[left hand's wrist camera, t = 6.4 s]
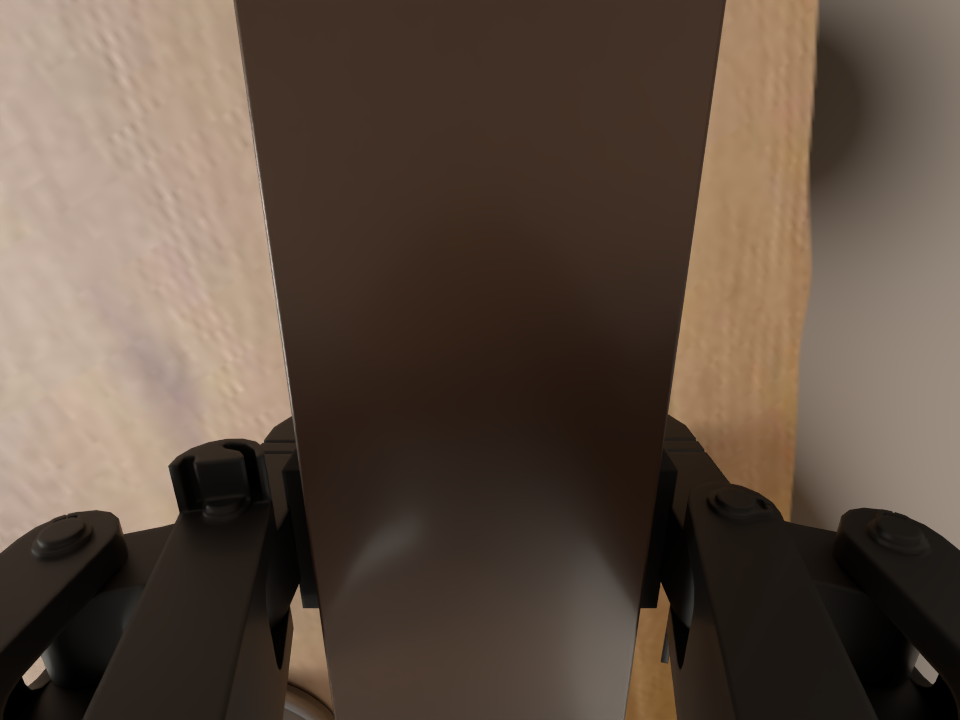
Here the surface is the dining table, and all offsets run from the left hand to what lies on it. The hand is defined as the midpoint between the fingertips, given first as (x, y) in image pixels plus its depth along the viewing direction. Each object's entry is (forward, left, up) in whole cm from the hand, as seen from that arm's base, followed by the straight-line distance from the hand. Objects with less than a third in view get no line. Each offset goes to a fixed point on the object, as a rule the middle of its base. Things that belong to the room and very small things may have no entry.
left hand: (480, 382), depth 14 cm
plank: (+9, 0, 0) cm, 9 cm away
